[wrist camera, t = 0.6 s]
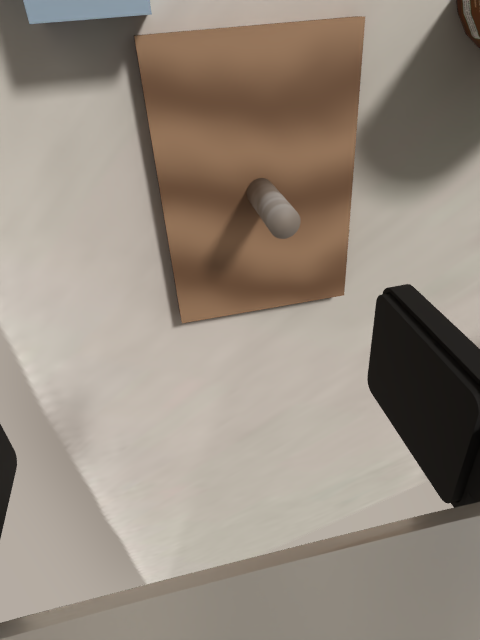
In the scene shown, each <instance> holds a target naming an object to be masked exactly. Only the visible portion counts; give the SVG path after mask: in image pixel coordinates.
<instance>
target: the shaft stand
mask: <svg viewBox="0 0 480 640" xmlns="http://www.w3.org/2000/svg"><path fill="white" fill-rule="evenodd" d="M364 25H365V17H345V18H334V19H322V20H310V21H299V22H287V23H275V24H264V25H252V26H240V27H229V28H217V29H205V30H193V31H182V32H170V33H158V34H147V35H135V36H134V39H135V45H136V51H137V57H138V63H139V69H140V75H141V81H142V87H143V93H144V99H145V105H146V111H147V117H148V123H149V129H150V135H151V141H152V147H153V153H154V159H155V165H156V171H157V177H158V183H159V189H160V195H161V201H162V207H163V213H164V219H165V226H166V232H167V238H168V244H169V250H170V256H171V262H172V268H173V274H174V280H175V286H176V292H177V298H178V304H179V310H180V316H181V321H182V323H187V322H193V321H198V320H204V319H210V318H216V317H221V316H227V315H233V314H239V313H244V312H250V311H256V310H262V309H267V308H273V307H279V306H285V305H290V304H296V303H302V302H308V301H313V300H319V299H325V298H331V297H336V296H342V295H344V288H345V275H346V262H347V249H348V236H349V222H350V209H351V196H352V183H353V170H354V156H355V143H356V130H357V117H358V104H359V91H360V77H361V64H362V51H363V38H364Z"/></svg>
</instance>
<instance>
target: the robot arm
mask: <svg viewBox="0 0 480 640" xmlns="http://www.w3.org/2000/svg"><path fill="white" fill-rule="evenodd" d="M368 385H369V389H370V391H371V393H372V394H373V396H374V397H375V399H376V400H377V402H378V404H379V405H380V407H381V408H382V410H383V411H384V413H385V414H386V416H387V417H388V419H389V420H390V422H391V423H392V425H393V426H394V428H395V429H396V431H397V432H398V434H399V435H400V437H401V438H402V440H403V441H404V443H405V445H406V446H407V448H408V449H409V451H410V452H411V454H412V455H413V457H414V458H415V460H416V461H417V463H418V464H419V466H420V467H421V469H422V470H423V472H424V473H425V475H426V476H427V478H428V479H429V481H430V482H431V484H432V485H433V487H434V489H435V490H436V492H437V493H438V495H439V496H440V498H441V499H442V500H443V501H444V502H445V503H451V504H452V505H453V507H454V508H451V509H447V510H442V511H438V512H434V513H429V514H425V515H421V516H417V517H413V518H409V519H405V520H401V521H397V522H393V523H389V524H385V525H381V526H377V527H373V528H369V529H365V530H361V531H357V532H352V533H348V534H345V535H340V536H337V537H332V538H328V539H325V540H320V541H316V542H313V543H308V544H305V545H301V546H296V547H293V548H288V549H285V550H281V551H277V552H273V553H269V554H265V555H261V556H257V557H253V558H249V559H245V560H241V561H237V562H233V563H229V564H225V565H221V566H217V567H214V568H210V569H206V570H202V571H198V572H194V573H190V574H186V575H182V576H178V577H174V578H170V579H166V580H163V581H159V582H155V583H151V584H147V585H143V586H139V587H136V588H132V589H128V590H124V591H120V592H117V593H112V594H109V595H105V596H101V597H97V598H93V599H89V600H86V601H82V602H78V603H74V604H70V605H66V606H63V607H59V608H55V609H51V610H47V611H43V612H39V613H36V614H32V615H28V616H24V617H20V618H17V619H13V620H9V621H6V622H2V623H0V640H480V349H479V348H478V347H477V346H476V345H475V344H474V343H473V342H472V341H470V340H469V339H468V338H467V337H466V336H465V335H464V334H463V333H462V332H461V331H460V330H459V329H458V328H457V327H456V326H454V325H453V324H452V323H451V322H450V321H449V320H448V319H447V318H446V317H445V316H444V315H443V314H442V313H441V312H440V311H439V310H437V309H436V308H435V307H434V306H433V305H432V304H431V303H430V302H429V301H428V300H427V299H426V298H425V297H424V296H423V295H421V294H420V293H419V292H418V291H417V290H416V289H415V288H414V287H413V286H411V285H410V284H406V285H401V286H395V287H390V288H386V289H385V290H384V291H383V294H382V295H379V296H378V298H377V301H376V309H375V318H374V327H373V335H372V344H371V352H370V361H369V370H368ZM16 467H17V458H16V454H15V451H14V449H13V447H12V445H11V443H10V441H9V439H8V437H7V436H6V434H5V432H4V430H3V428H2V426H1V424H0V538H1V533H2V529H3V524H4V520H5V516H6V511H7V507H8V503H9V498H10V494H11V490H12V485H13V481H14V476H15V472H16Z"/></svg>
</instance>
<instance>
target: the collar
mask: <svg viewBox="0 0 480 640" xmlns="http://www.w3.org/2000/svg"><path fill="white" fill-rule="evenodd" d="M23 2H24V5H25V9H26V13H27V16H28V20H29V24H37V23H50V22H63V21H75V20H88V19H100V18H113V17H125V16H138V15H150V14H152V13H151V6H150V0H23Z"/></svg>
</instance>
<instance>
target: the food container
mask: <svg viewBox="0 0 480 640" xmlns="http://www.w3.org/2000/svg"><path fill="white" fill-rule="evenodd" d="M457 9H458V15H459V17H460V20H461V22H462V25H463V28H464V30H465V33H466V35H467V36H468V37H469V38H470V39H471V40H472V41H473V42H474V43H475V44H476V45H477V46H478V47H479V48H480V0H457Z"/></svg>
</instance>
